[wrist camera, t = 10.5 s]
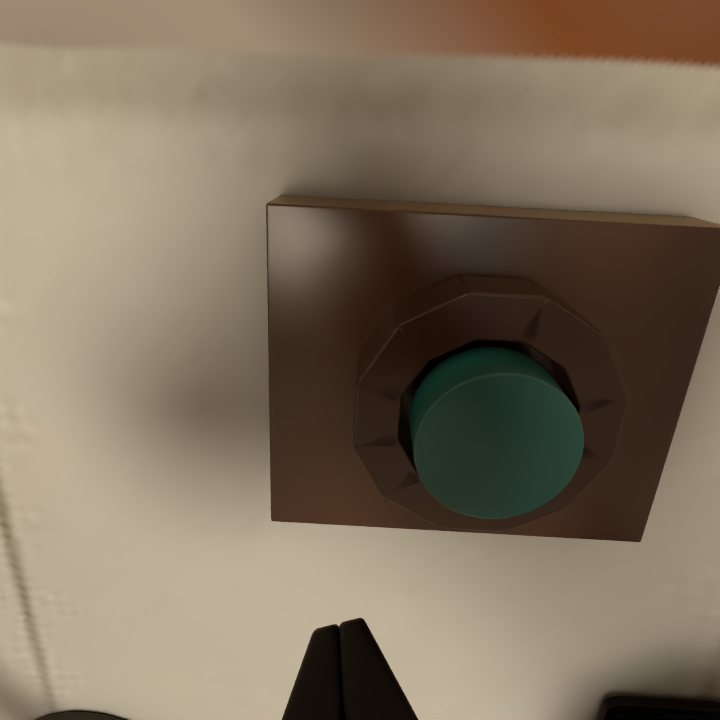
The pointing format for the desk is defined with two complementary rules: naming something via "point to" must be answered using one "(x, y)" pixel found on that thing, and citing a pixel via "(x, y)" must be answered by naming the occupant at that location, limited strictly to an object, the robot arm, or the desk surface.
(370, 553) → the desk surface
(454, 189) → the desk surface
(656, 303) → the button box
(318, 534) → the desk surface
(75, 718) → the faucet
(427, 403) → the button
